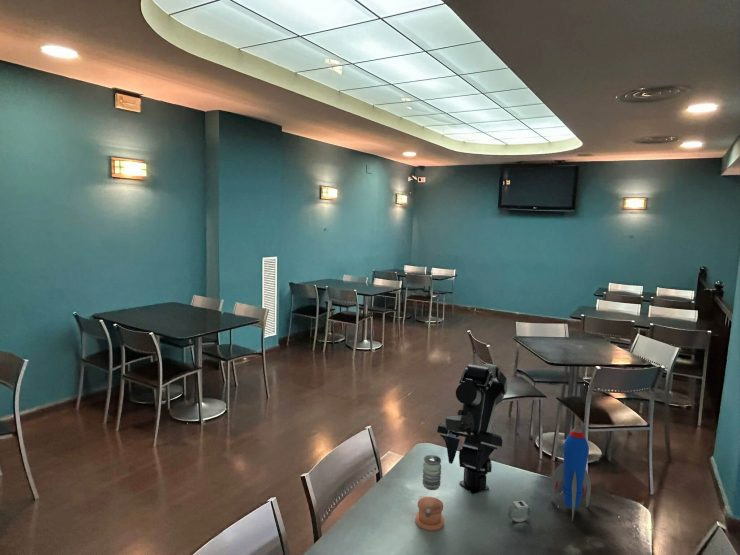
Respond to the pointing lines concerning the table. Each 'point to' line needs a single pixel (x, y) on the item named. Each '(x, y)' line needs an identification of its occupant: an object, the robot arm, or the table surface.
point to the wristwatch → (519, 506)
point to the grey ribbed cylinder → (431, 472)
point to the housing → (430, 514)
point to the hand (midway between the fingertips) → (463, 467)
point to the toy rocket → (573, 470)
